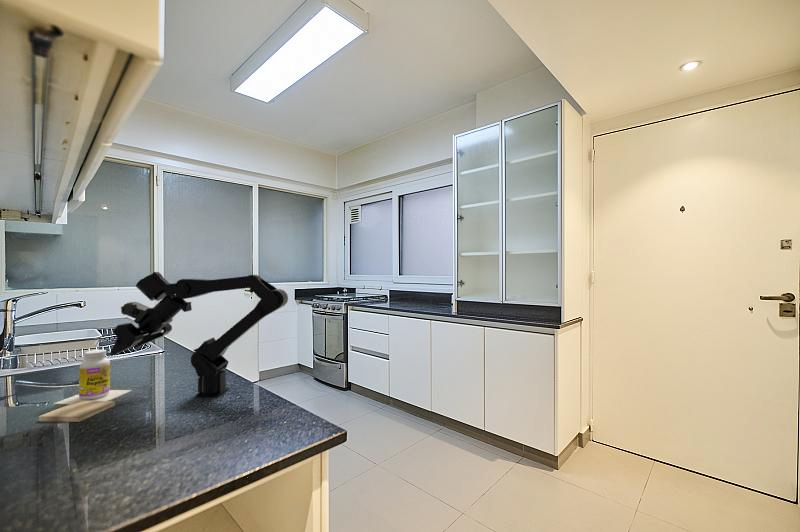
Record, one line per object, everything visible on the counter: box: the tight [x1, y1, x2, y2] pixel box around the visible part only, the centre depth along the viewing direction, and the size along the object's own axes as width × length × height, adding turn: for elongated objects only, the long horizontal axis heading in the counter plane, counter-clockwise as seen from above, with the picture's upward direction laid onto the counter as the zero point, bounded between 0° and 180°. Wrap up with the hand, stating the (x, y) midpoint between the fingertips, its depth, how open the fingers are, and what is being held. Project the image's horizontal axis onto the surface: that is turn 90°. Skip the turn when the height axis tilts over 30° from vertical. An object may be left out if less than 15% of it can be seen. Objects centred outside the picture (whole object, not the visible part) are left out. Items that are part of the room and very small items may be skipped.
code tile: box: [52, 389, 133, 405], centre depth 100 cm, size 13×11×1 cm
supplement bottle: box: [78, 349, 111, 400], centre depth 100 cm, size 7×7×13 cm
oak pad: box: [38, 400, 116, 423], centre depth 89 cm, size 10×10×1 cm
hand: (123, 350), depth 101 cm, fingers open, 9 cm apart
